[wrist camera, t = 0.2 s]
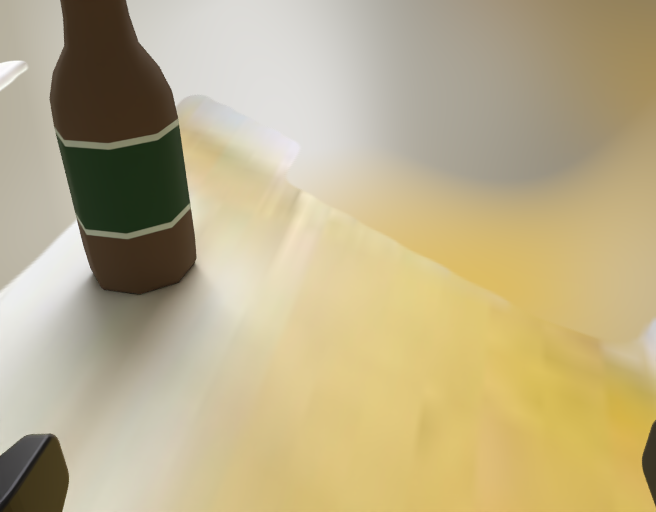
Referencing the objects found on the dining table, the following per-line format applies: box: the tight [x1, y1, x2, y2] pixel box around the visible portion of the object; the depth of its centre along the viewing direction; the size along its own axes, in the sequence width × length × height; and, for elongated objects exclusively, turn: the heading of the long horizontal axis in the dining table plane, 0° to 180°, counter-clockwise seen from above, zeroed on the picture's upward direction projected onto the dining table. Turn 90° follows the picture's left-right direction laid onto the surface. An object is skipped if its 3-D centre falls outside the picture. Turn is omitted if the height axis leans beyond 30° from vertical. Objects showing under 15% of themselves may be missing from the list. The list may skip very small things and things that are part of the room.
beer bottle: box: [50, 0, 196, 294], centre depth 40 cm, size 8×8×24 cm
